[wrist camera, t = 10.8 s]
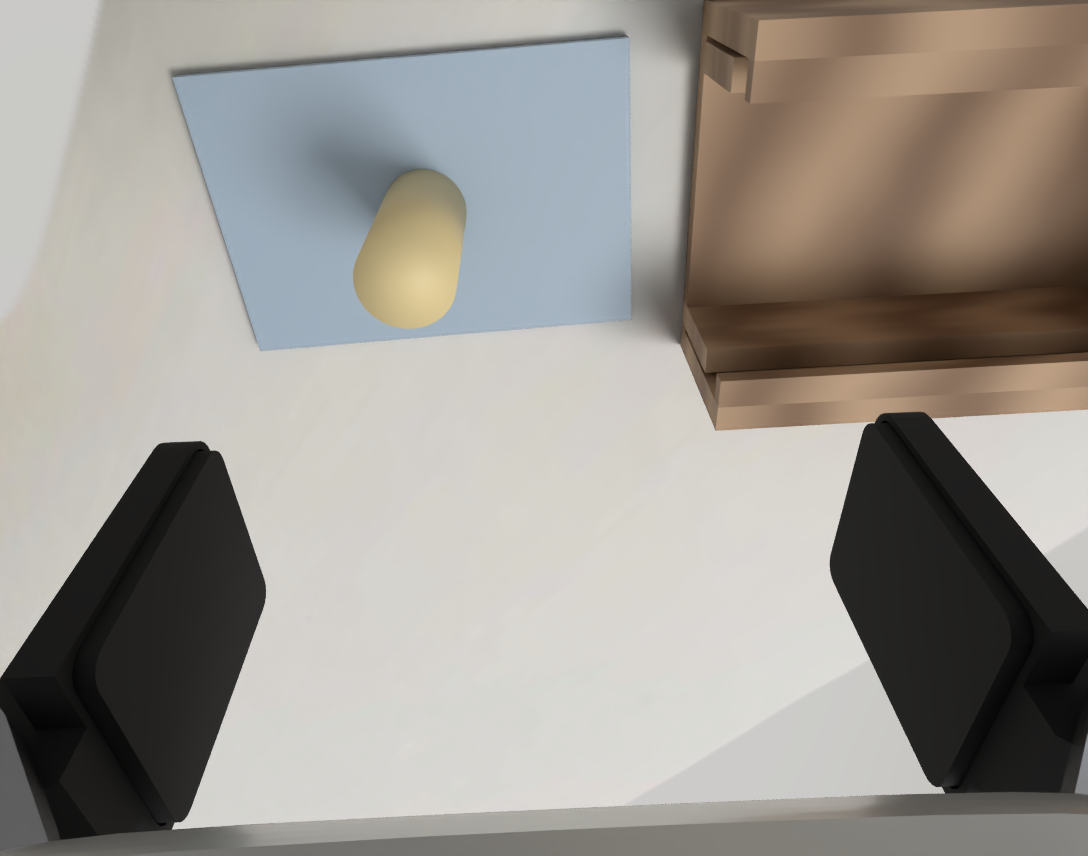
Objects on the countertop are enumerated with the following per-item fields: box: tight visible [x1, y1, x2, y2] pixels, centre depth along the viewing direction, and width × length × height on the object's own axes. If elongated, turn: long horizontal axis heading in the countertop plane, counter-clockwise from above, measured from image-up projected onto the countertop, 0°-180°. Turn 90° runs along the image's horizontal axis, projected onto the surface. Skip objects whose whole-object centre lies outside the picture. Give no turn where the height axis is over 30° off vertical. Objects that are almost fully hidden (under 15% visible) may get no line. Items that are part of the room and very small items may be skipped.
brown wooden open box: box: [681, 0, 1088, 431], centre depth 27 cm, size 19×13×7 cm
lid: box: [172, 36, 632, 351], centre depth 27 cm, size 16×11×8 cm
